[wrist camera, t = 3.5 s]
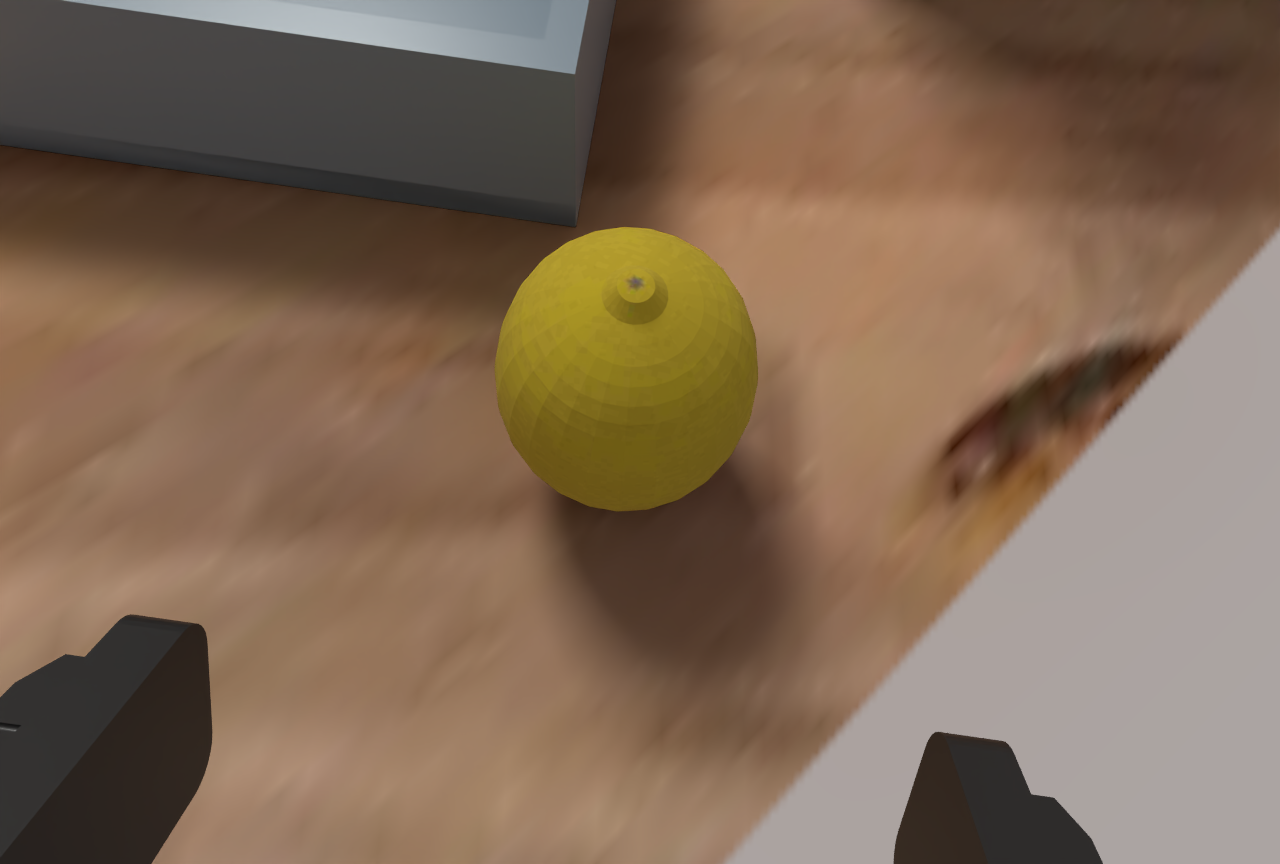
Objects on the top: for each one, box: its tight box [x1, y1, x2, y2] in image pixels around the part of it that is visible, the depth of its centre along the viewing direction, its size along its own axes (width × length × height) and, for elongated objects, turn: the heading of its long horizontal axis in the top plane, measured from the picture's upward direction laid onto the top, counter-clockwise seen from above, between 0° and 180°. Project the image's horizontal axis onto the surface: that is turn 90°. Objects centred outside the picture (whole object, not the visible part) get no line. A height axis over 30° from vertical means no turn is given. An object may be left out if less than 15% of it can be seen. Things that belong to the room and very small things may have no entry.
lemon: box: [495, 227, 758, 512], centre depth 21 cm, size 6×6×8 cm
